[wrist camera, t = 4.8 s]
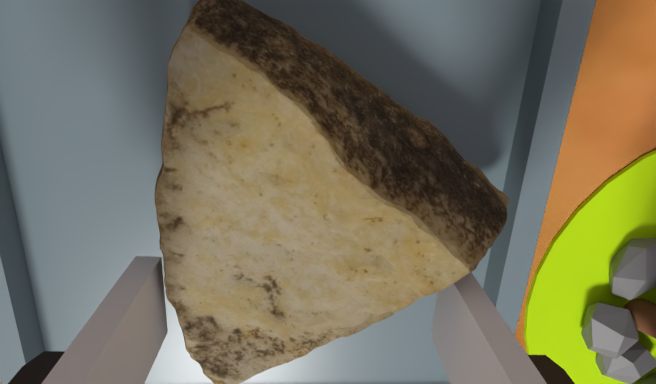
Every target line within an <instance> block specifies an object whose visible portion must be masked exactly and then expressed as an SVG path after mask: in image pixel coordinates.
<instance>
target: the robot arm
mask: <svg viewBox="0 0 656 384" xmlns="http://www.w3.org/2000/svg"><path fill="white" fill-rule="evenodd" d="M167 332H168V328H167V317H166V305H165V293H164V281H163V269H162V258H161V257H152V256H135V258H134V259H133V260H132V262H131V263H130V265H129V266H128V267H127V269H126V270H125V271H124V273H123V274H122V275H121V277H120V278H119V279H118V281H117V282H116V283H115V285H114V286H113V288H112V289H111V290H110V292H109V293H108V294H107V296H106V297H105V298H104V300H103V301H102V302H101V304H100V305H99V307H98V308H97V309H96V311H95V312H94V313H93V315H92V316H91V317H90V319H89V320H88V321H87V323H86V324H85V325H84V327H83V328H82V330H81V331H80V332H79V334H78V335H77V336H76V338H75V339H74V340H73V342H72V343H71V344H70V346H69V347H68V348H67V350H66V351H44V352H42V353H41V354H39V355H38V356H37V357H35V358H34V359H32V360H31V361H29V362H28V363H27V364H25V365H24V366H22V367H21V369H20V370H19V371H18V372H17V373H16V375H15V376H14V377H13V378H12V379H11V381H10V382H9V383H8V384H144V383H145V381H146V379H147V377H148V375H149V372H150V370H151V368H152V366H153V363H154V361H155V359H156V357H157V355H158V352H159V350H160V348H161V346H162V343H163V341H164V339H165V337H166V335H167ZM431 337H432V340H433V342H434V344H435V347H436V349H437V352H438V354H439V357H440V359H441V362H442V364H443V367H444V369H445V371H446V374H447V376H448V379H449V381H450V384H575V383H574V382H573V380H572V379H571V378H570V377H569V375H568V374H567V373H566V371H565V370H564V369H563V368H562V367H560V366H559V365H558V364H556V363H555V362H554V361H553V360H551V359H550V358H549V357H547V356H546V355H527V353H526V352H525V351H524V349H523V348H522V346H521V345H520V343H519V342H518V340H517V339H516V337H515V336H514V334H513V333H512V331H511V330H510V328H509V327H508V325H507V324H506V322H505V321H504V320H503V318H502V317H501V315H500V314H499V312H498V311H497V309H496V308H495V306H494V305H493V303H492V302H491V300H490V299H489V297H488V296H487V294H486V293H485V291H484V290H483V289H482V287H481V286H480V284H479V283H478V281H477V280H476V278H475V277H474V275H473V274H472V272H471V273H469V274H467V275H466V276H464V277H463V278H461V279H460V280H458V281H457V282H455V283H453V284H451V285H450V286H448V287H447V288H446V289H443V290H441V291H438V293H437V299H436V305H435V311H434V318H433V324H432V330H431Z"/></svg>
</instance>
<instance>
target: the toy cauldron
mask: <svg viewBox="0 0 656 384" xmlns="http://www.w3.org/2000/svg"><path fill="white" fill-rule="evenodd" d="M523 332H524V338H525V344H526V350H527V355H546V356H547V357H549V358H550V359H551V360H553V361H554V362H555V363H556V364H558V365H559V366H560V367H562V368H563V369H564V370H565V371H566V373H567V374H568V375H569V377H570V378H571V379H572V380H573V382H574V383H575V384H656V150H654V151H652V152H650V153H648V154H646V155H644V156H642V157H640V158H638V159H637V160H635V161H634V162H632V163H631V164H630V165H628V166H627V167H625V168H624V169H622V170H621V171H619V172H618V173H617V174H615V175H614V176H612V177H611V178H609V179H608V180H607V181H605V182H604V183H603V184H602V185H601V186H600V187H599V188H598V189H597V190H596V191H595V192H593V193H592V194H591V195H590V196H589V197H588V198H587V199H586V200H585V201H584V202H583V203H582V204H581V205H580V206H579V207H578V208H577V209H576V210H575V211H574V212H573V213H572V215H571V216H570V217H569V219H568V220H567V221H566V222H565V224H564V225H563V226H562V228H561V229H560V230H559V232H558V233H557V234H556V236H555V237H554V238H553V239H552V241H551V243H550V245H549V247H548V248H547V250H546V252H545V254H544V256H543V258H542V260H541V262H540V264H539V266H538V267H537V269H536V271H535V274H534V277H533V281H532V284H531V287H530V290H529V294H528V297H527V300H526V306H525V319H524V331H523Z"/></svg>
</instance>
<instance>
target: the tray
mask: <svg viewBox="0 0 656 384" xmlns="http://www.w3.org/2000/svg"><path fill="white" fill-rule="evenodd" d="M198 1H199V0H0V381H1V384H8V383H9V382H10V381H11V379H12V378H13V377H14V376H15V375H16V373H17V372H18V371H19V370H20V369H21V367H22V366H24V365H25V364H27V363H28V362H29V361H31V360H32V359H34V358H35V357H37V356H38V355H39V354H41V353H42V352H44V351H66V350H67V348H68V347H69V346H70V344H71V343H72V342H73V340H74V339H75V338H76V336H77V335H78V334H79V332H80V331H81V330H82V328H83V327H84V325H85V324H86V323H87V321H88V320H89V319H90V317H91V316H92V315H93V313H94V312H95V311H96V309H97V308H98V307H99V305H100V304H101V302H102V301H103V300H104V298H105V297H106V296H107V294H108V293H109V292H110V290H111V289H112V288H113V286H114V285H115V283H116V282H117V281H118V279H119V278H120V277H121V275H122V274H123V273H124V271H125V270H126V269H127V267H128V266H129V265H130V263H131V262H132V260H133V259H134V258H135V256H152V257H161V258H162V269H163V281H164V276H165V273H164V260H163V254H162V252H161V250H160V243H159V240H160V231H159V227H158V223H157V212H156V207H155V186H156V180H157V177H158V174H159V171H160V169H161V166H162V163H163V162H162V151H161V139H162V130H163V121H164V112H165V104H166V95H167V70H168V62H169V58H170V55H171V52H172V48H173V46H174V44H175V43H176V41H177V40H178V38H179V36H180V34H181V31H182V29H183V27H184V26H185V24H186V23H187V21H188V19H189V17H190V14H191V12H192V9H193V7H194V6H195V4H196V3H197V2H198ZM244 1H245V2H246V3H248V4H249V5H251V6H252V7H254V8H256V9H258V10H260V11H262V12H263V13H265V14H267V15H269V16H271V17H273V18H275V19H277V20H279V21H282V22H284V23H286V24H288V25H290V26H292V27H293V28H294V29H295V30H296V31H297V32H299V33H300V34H301V35H302V36H303V37H305V38H307V39H308V40H310V41H313V42H315V43H317V44H319V45H321V46H322V47H324V48H326V49H328V50H329V51H331V52H332V53H333V54H334V55H335V56H337V57H339V58H340V59H342V60H343V61H344V62H345V63H347V64H348V65H349V66H350V67H351V68H353V69H354V70H355V71H356V72H357V73H358V74H360V75H361V76H362V77H364V78H365V79H367V80H368V81H369V82H371V83H372V84H374V85H376V86H378V87H380V88H381V89H382V90H383V91H384V92H385V93H386V94H387V95H388V96H389V97H390V98H391V99H392V100H393V101H395V102H396V103H397V104H400V105H402V106H404V107H405V108H407V109H408V110H409V111H410V112H411V113H413V114H414V115H416V116H418V117H421V118H423V119H426V120H428V121H429V122H431V123H432V124H433V125H434V126H435V127H436V128H437V129H439V131H440V132H441V133H442V134H443V135H444V136H445V137H446V138H447V139H448V140H449V141H450V143H451V144H452V145H453V146H454V147H455V148H456V150H457V151H458V153H459V154H460V155H461V156H462V157H463V158H464V159H465V160H467V161H468V162H470V163H471V164H473V165H474V166H476V167H478V168H479V169H480V170H481V171H482V172H483V173H484V174H485V176H486V177H487V178H488V180H489V181H490V183H491V184H492V185H494V186H495V187H496V188H497V189H498V190H500V191H502V192H503V193H504V194H505V195H506V196H507V197H508V198H509V204H508V206H507V213H508V215H507V220H506V223H505V226H504V228H503V229H502V231H501V233H500V234H499V236H498V237H497V238H496V239H495V241H494V242H493V245H492V246H491V247H490V248H489V249H488V251H487V253H486V255H485V256H484V257H483V258H482V259H481V260H480V262H479V263H478V265H477V267H476V269H475V270H474V271H472V274H473V275H474V277H475V278H476V280H477V281H478V283H479V284H480V286H481V287H482V289H483V290H484V291H485V293H486V294H487V296H488V297H489V299H490V300H491V302H492V303H493V305H494V306H495V308H496V309H497V311H498V312H499V314H500V315H501V317H502V318H503V320H504V321H505V322H506V324H507V325H508V327H509V328H510V330H511V331H512V333H513V334H514V336H515V332H516V327H517V323H518V319H519V315H520V311H521V307H522V303H523V299H524V295H525V290H526V286H527V282H528V278H529V274H530V270H531V266H532V262H533V257H534V253H535V249H536V245H537V241H538V237H539V233H540V229H541V225H542V220H543V216H544V212H545V208H546V204H547V200H548V196H549V192H550V188H551V183H552V179H553V175H554V171H555V167H556V163H557V159H558V155H559V150H560V146H561V142H562V138H563V134H564V130H565V126H566V122H567V118H568V113H569V109H570V105H571V101H572V97H573V93H574V89H575V85H576V81H577V76H578V72H579V68H580V64H581V60H582V56H583V52H584V48H585V43H586V39H587V35H588V31H589V27H590V23H591V19H592V15H593V11H594V6H595V2H596V0H244ZM164 293H165V305H166V317H167V328H168V332H167V335H166V337H165V339H164V341H163V343H162V346H161V348H160V350H159V352H158V355H157V357H156V359H155V361H154V363H153V366H152V368H151V370H150V372H149V375H148V377H147V379H146V381H145V383H144V384H214V383H213V382H212V381H211V380H210V379H209V378H208V377H207V376H205V375H204V374H203V370H202V368H201V366H200V364H199V363H198V362H197V361H195V360H193V359H192V358H191V356H190V354H189V353H188V352H187V350H186V347H185V341H184V336H183V332H182V329H181V327H180V325H179V321H178V317H177V314H176V311H175V309H174V307H173V306H172V305H171V303H170V302H169V301H168V299H167V296H166V289H165V284H164ZM437 293H438V292H436V293H434V294H431V295H428V296H424V297H421V298H419V299H418V300H417V301H415V302H414V303H413V304H411V305H409V306H407V307H406V308H404V309H402V310H401V311H399V312H396V313H395V314H393V315H392V316H390V317H388V318H387V319H385V320H382V321H380V322H377V323H374V324H372V325H371V326H369V327H367V328H366V329H364V330H362V331H360V332H358V333H356V334H352V335H350V336H348V337H340V338H338V339H336V340H334V341H332V342H330V343H328V344H326V345H323V346H320V347H318V348H315V349H313V350H312V351H311V352H310V353H308V354H307V355H306V356H303V357H300V358H297V359H295V360H292V361H290V362H288V363H285V364H282V365H279V366H276V367H273V368H271V369H268V370H266V371H264V372H262V373H259V374H256V375H255V376H253V377H251V378H250V379H248V380H246V381H244V382H242V383H239V384H450V381H449V379H448V376H447V374H446V371H445V369H444V367H443V364H442V362H441V359H440V357H439V354H438V352H437V349H436V347H435V344H434V342H433V340H432V337H431V330H432V324H433V318H434V311H435V305H436V299H437Z"/></svg>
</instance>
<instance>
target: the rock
mask: <svg viewBox="0 0 656 384" xmlns="http://www.w3.org/2000/svg"><path fill="white" fill-rule="evenodd" d="M161 151H162V162H163V163H162V166H161V169H160V171H159V174H158V177H157V180H156V186H155V207H156V212H157V223H158V227H159V231H160V240H159V243H160V250H161V252H162V254H163V260H164V273H165V276H164V284H165V289H166V296H167V299H168V301H169V302H170V303H171V305H172V306H173V307H174V309H175V311H176V314H177V317H178V321H179V325H180V327H181V329H182V332H183V336H184V341H185V347H186V350H187V352H188V353H189V354H190V356H191V358H192V359H193V360H195V361H197V362H198V363H199V364H200V366H201V368H202V370H203V374H204V375H205V376H207V377H208V378H209V379H210V380H211V381H212V382H213V383H214V384H239V383H242V382H244V381H246V380H248V379H250V378H251V377H253V376H255V375H256V374H259V373H262V372H264V371H266V370H268V369H271V368H273V367H276V366H279V365H282V364H285V363H288V362H290V361H292V360H295V359H297V358H300V357H303V356H306V355H307V354H308V353H310V352H311V351H312V350H313V349H315V348H318V347H320V346H323V345H326V344H328V343H330V342H332V341H334V340H336V339H338V338H340V337H348V336H350V335H352V334H356V333H358V332H360V331H362V330H364V329H366V328H367V327H369V326H371V325H372V324H374V323H377V322H380V321H382V320H385V319H387V318H388V317H390V316H392V315H393V314H395V313H396V312H399V311H401V310H402V309H404V308H406V307H407V306H409V305H411V304H413V303H414V302H415V301H417V300H418V299H419V298H421V297H424V296H428V295H431V294H434V293H436V292H438V291H441V290H443V289H446V288H447V287H448V286H450V285H451V284H453V283H455V282H457V281H458V280H460V279H461V278H463V277H464V276H466V275H467V274H469V273H471V272H472V271H474V270H475V269H476V267H477V265H478V263H479V262H480V260H481V259H482V258H483V257H484V256H485V255H486V253H487V251H488V249H489V248H490V247H491V246H492V245H493V242H494V241H495V239H496V238H497V237H498V236H499V234H500V233H501V231H502V229H503V228H504V226H505V223H506V220H507V215H508V213H507V206H508V204H509V198H508V197H507V196H506V195H505V194H504V193H503V192H502V191H500V190H498V189H497V188H496V187H495V186H494V185H492V184H491V183H490V181H489V180H488V178H487V177H486V176H485V174H484V173H483V172H482V171H481V170H480V169H479V168H478V167H476V166H474V165H473V164H471V163H470V162H468V161H467V160H465V159H464V158H463V157H462V156H461V155H460V154H459V153H458V151H457V150H456V148H455V147H454V146H453V145H452V144H451V143H450V141H449V140H448V139H447V138H446V137H445V136H444V135H443V134H442V133H441V132H440V131H439V129H437V128H436V127H435V126H434V125H433V124H432V123H431V122H429V121H428V120H426V119H423V118H421V117H418V116H416V115H414V114H413V113H411V112H410V111H409V110H408V109H407V108H405V107H404V106H402V105H400V104H397V103H396V102H395V101H393V100H392V99H391V98H390V97H389V96H388V95H387V94H386V93H385V92H384V91H383V90H382V89H381V88H380V87H378V86H376V85H374V84H372V83H371V82H369V81H368V80H367V79H365V78H364V77H362V76H361V75H360V74H358V73H357V72H356V71H355V70H354V69H353V68H351V67H350V66H349V65H348V64H347V63H345V62H344V61H343V60H342V59H340V58H339V57H337V56H335V55H334V54H333V53H332V52H331V51H329V50H328V49H326V48H324V47H322V46H321V45H319V44H317V43H315V42H313V41H310V40H308V39H307V38H305V37H303V36H302V35H301V34H300V33H299V32H297V31H296V30H295V29H294V28H293V27H292V26H290V25H288V24H286V23H284V22H282V21H279V20H277V19H275V18H273V17H271V16H269V15H267V14H265V13H263V12H262V11H260V10H258V9H256V8H254V7H252V6H251V5H249V4H248V3H246V2H245V1H244V0H199V1H198V2H197V3H196V4H195V6H194V7H193V9H192V12H191V14H190V17H189V19H188V21H187V23H186V24H185V26H184V27H183V29H182V31H181V34H180V36H179V38H178V40H177V41H176V43H175V44H174V46H173V48H172V52H171V55H170V58H169V62H168V70H167V95H166V104H165V112H164V121H163V130H162V139H161Z"/></svg>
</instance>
